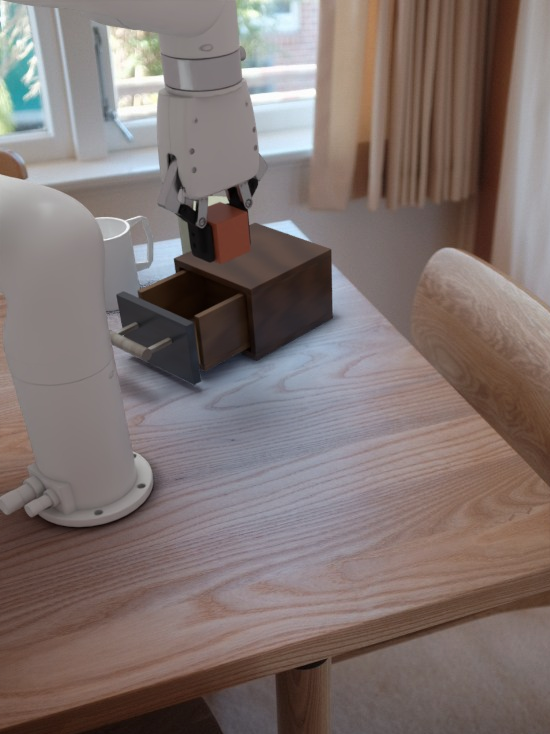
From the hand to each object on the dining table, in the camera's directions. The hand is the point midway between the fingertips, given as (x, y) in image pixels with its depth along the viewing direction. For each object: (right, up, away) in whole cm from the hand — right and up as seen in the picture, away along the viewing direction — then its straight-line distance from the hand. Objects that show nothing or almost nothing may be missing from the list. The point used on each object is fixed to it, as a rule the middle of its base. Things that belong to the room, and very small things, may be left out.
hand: (221, 248), depth 99 cm
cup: (-18, +2, +31) cm, 36 cm away
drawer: (-7, -9, +15) cm, 19 cm away
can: (-5, +4, +32) cm, 33 cm away
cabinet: (+2, -3, +23) cm, 24 cm away
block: (0, 0, 0) cm, 0 cm away
